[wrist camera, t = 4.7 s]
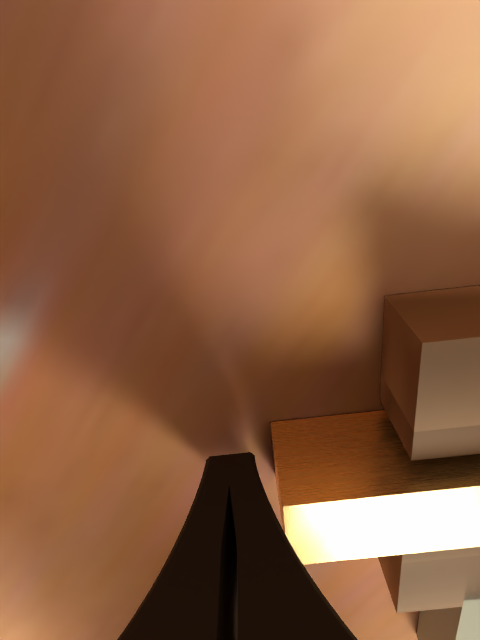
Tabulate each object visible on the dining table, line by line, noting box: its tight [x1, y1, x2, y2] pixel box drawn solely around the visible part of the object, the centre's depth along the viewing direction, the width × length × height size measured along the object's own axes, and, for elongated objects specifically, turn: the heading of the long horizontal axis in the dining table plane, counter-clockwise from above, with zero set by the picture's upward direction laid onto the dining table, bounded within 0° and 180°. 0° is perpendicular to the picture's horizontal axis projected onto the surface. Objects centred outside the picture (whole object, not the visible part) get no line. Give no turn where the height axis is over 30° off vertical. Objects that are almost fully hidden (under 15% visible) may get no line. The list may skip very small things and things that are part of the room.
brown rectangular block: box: [270, 410, 480, 564], centre depth 12 cm, size 2×7×3 cm, turn 96°
